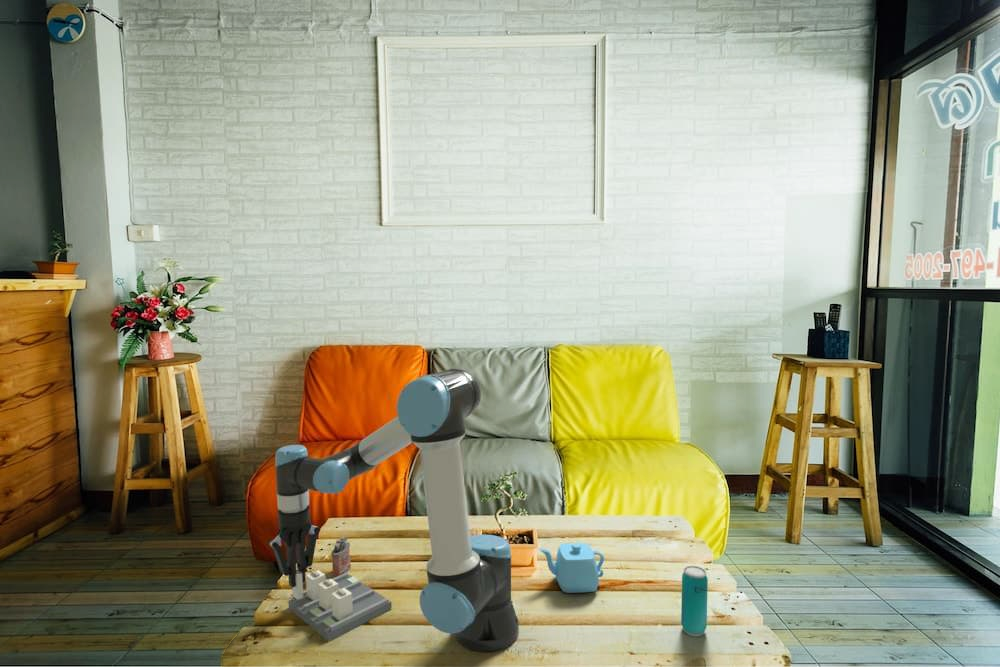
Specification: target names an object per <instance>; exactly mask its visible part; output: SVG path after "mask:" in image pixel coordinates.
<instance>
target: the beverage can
mask: <svg viewBox="0 0 1000 667" xmlns="http://www.w3.org/2000/svg"><path fill="white" fill-rule="evenodd" d="M708 580H709V579H708V576H707V571H706V569H704V568H703V567H699V566H695V565H689V566H688V565H687V566H685V567H684V568H683V572H682V574H681V612H680V614H681V615H680V616H681V618H680V619H681V620H680V621H681V622H680V624H681V626H682V629H683V631H684V633H685V634H687V635H688V636H690V637H691V636H692V637H695V638H696V637H697V638H698V637H701V636H703V635H704V633H705V632H706V630H707V625H708V623H707V622H708V619H707V618H708Z"/></svg>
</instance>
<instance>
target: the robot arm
mask: <svg viewBox="0 0 1000 667" xmlns="http://www.w3.org/2000/svg"><path fill="white" fill-rule="evenodd" d="M480 386H481V385H480V384H479V382H478V380H477V378H476V377H475V376H474V375H473V374H472V373H470V372H469V371H467V370H465V369H461V368H450V369H446V370H442V371H439V372H435V373H430V374H426V375H422V376H420V377H418V378H416V379H414V380H411V381H410V382H408V383H407V384H406V385H405V386H404V387H403V389H402V390H401V391H400V393H399V395H398V398H397V401H396V402H397V403H396V414H397V416H396V417H394V418H392V419H391V420H390V421H388V422H387V423H385V424H384V425H382V426H381V427H380V428H378V429H376V430H374V431H373V432H372V433H370V434H369V435H367V436H366V437H364V438H362V440H360V441H358V442H357V443H355V444H354V445H352V446H350V447H348V448H347V449H344V450H341V451H338V452H336V453H334V454H331V455H329V456H326V457H324V458H316V457H310V456H309V453H308V450H307V449H308V448H307V447H305V446H304V445H301V444H291V445H285V446H283V447H280V448H278V449H277V450H276V451H275V457H274V458H275V459H274V460H275V461H274V462H275V464H274V467H275V478H276V479H275V482H276V484H275V485H276V500H277V501H276V502H277V509H278V510H277V518H278V519H277V520H278V522H277V524H278V530H277V533H276V534H277V536H275V538H274V539H270V540H269V541H268V545H269V546H270V547H271V548H272V549H273V550H272V551H273V553H274V557H275V559H276V562H277V564H278V569H279V572H280V573H281V574H282V575H284V576H286V577H288V585H289V586H290V587H291V588H292V589H291V590H292V596H294V597H295V598H296V599H297V600H298V599H301V598H303V591H304V586H303V584H304V583H306V573H307V571H308V568H310V567H312V565H313V563H314V557H315V556H314V555H315V549H316V545H317V539H318V535H319V533H320V532H321V528H320V527H319V526H318V525H317V526H316V525H314V524H313V525H312V523H311V520H310V519H311V513H310V512H311V511H310V509H311V508H310V493H309V492H310V490H311V491H315V492H318V493H319V492H320V493H322V494H332V495H333V494H338V493H341V492H342V491H343V490H344V488H345V487H347V486H348V483H349V481H350V480H352V479H355V478H356V477H358V476H361V475H363V474H366V473H368V472H370V471H372V470H373V469H375V468H376V467H377V466H378V465H379V464H380V463H382V462H384V461H385V460H386V459H388V458H390V457H391V456H393V455H395V454H397V453H398V452H400V451H401V450H403V449H404V448H406V447H408V446H409V445H410V444H413V445H415V446H416V447H418V448H419V455H420V457H419V458H420V462H421V463H420V464H421V472H422V481H423V487H424V488H423V489H424V496H425V497H424V498H425V505H426V513H427V521H428V522H427V523H428V531H429V540H430V547H431V554H432V555H431V557H430V558H429V559H428V561H427V563H426V564H425V565H426V575H427V576H426V577H427V584H425V585H424V587H423V588H422V590H421V592H420V595H419V608H420V610H421V612H422V614H423V616H424V618H425V620H426V621H427V622H428V623H430V624H431V625H432V627H434V629H436V630H438V631H440V632H442V633H445V634H455V635H456V639H457V642H459V644H461V645H462V646H463V647H464V648H467V649H469V650H470V651H475V652H481V653H482V652H483V653H489V652H498V651H501V650H504V649H505V648H508V647H510V646H511V645H513V643H515V642H516V640H517V639H518V637H519V635H520V634H519V633H520V631H519V630H520V627H519V625H520V624H519V619H518V617H517V615H516V611H515V610H516V609H515V608H514V605H513V604H514V603H513V602H512V558H513V557H512V556H513V555H512V552H511V544H510V543H509V541H507V539H505V538H504V537H501V536H498V535H493V534H474V535H471V532H470V530H471V529H470V524H469V523H470V522H469V513H468V504H467V497H466V496H467V495H466V488H465V487H466V486H465V480H464V470H463V463H462V462H463V461H462V454H461V453H462V452H461V445H460V443H461V441H462V440H463V439H464V437H465V435H466V425H465V419H466V418H468V417H469V416H471V415H472V414H473V413H475V411H476V410H477V409H478V406H479V405H480V402H481V399H482V390H481V387H480ZM282 542H283V543H284V545H285V548H286V557H285V554H284V551H283V549H282V547H281V546H282Z"/></svg>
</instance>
